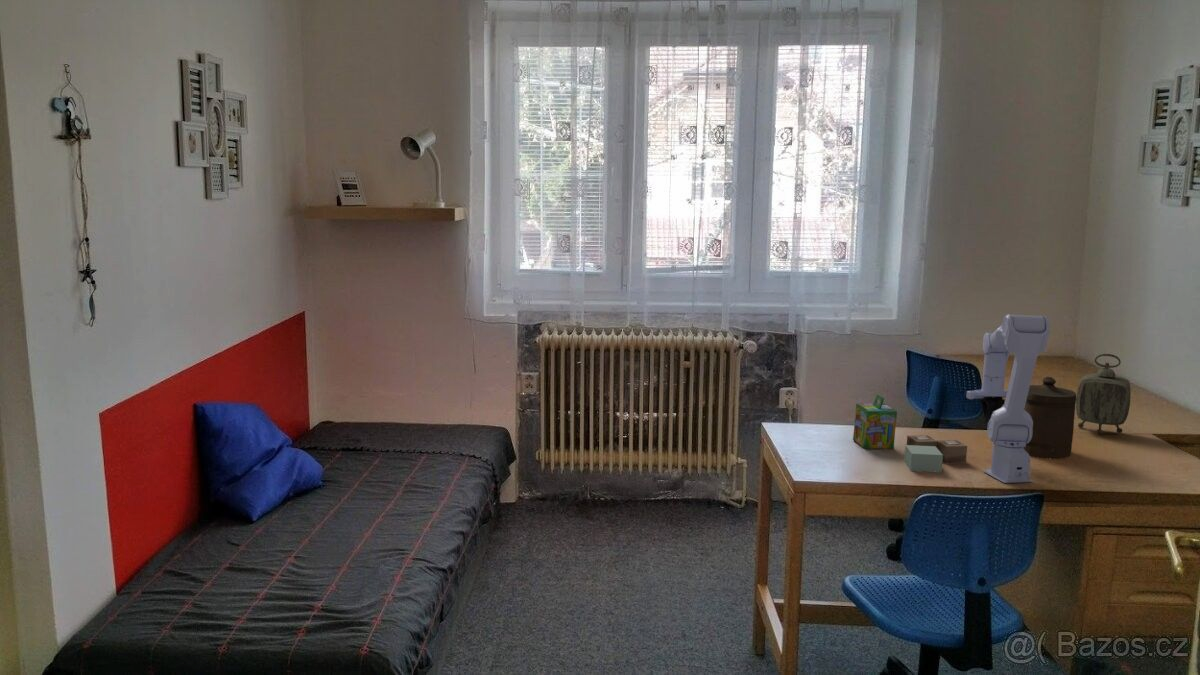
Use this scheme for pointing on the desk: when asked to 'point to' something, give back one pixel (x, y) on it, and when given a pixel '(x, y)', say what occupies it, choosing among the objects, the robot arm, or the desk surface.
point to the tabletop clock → (1103, 397)
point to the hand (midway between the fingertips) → (989, 422)
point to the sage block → (923, 458)
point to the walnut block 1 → (921, 440)
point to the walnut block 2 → (952, 451)
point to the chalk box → (875, 425)
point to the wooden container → (1050, 420)
